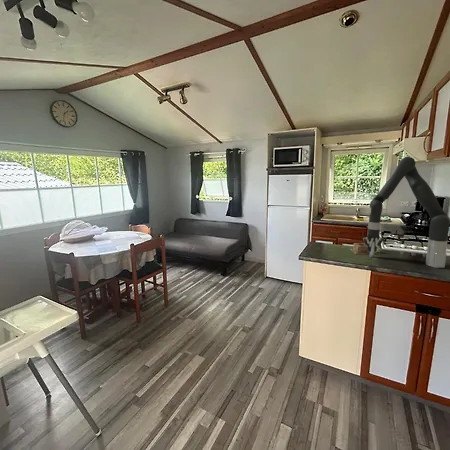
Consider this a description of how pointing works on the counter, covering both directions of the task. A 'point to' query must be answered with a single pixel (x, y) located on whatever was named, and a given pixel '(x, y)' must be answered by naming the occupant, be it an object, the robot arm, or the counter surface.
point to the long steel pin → (372, 249)
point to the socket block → (360, 249)
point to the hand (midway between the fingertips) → (372, 251)
